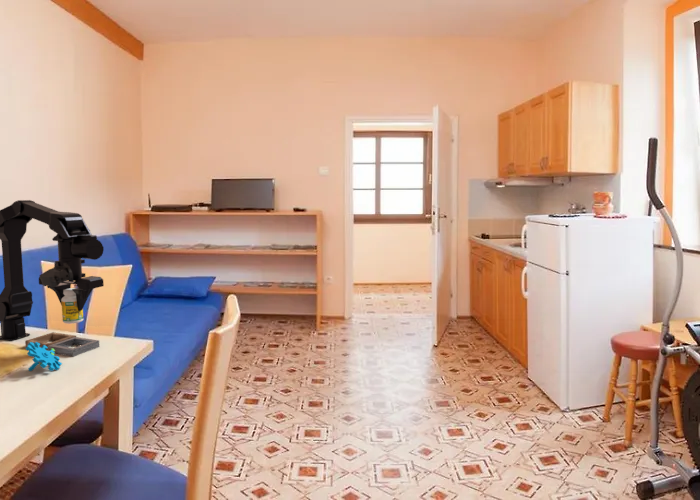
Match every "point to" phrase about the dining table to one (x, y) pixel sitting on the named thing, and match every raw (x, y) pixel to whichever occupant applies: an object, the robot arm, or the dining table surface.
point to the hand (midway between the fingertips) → (72, 309)
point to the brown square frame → (49, 339)
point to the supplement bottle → (70, 307)
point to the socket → (85, 346)
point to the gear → (43, 357)
